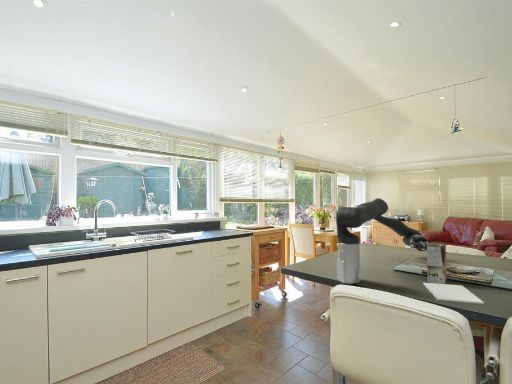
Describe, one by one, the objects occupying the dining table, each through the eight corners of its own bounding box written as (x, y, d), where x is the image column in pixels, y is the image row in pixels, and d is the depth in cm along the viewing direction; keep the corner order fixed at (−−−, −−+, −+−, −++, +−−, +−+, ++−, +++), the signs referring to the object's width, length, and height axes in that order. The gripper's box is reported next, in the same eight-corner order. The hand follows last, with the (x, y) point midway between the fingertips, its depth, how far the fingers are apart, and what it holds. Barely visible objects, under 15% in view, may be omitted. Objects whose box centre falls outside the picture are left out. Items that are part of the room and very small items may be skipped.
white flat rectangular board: (423, 283, 114) (423, 282, 114) (461, 286, 109) (461, 285, 110) (437, 300, 97) (437, 298, 97) (484, 304, 92) (484, 302, 92)
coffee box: (445, 285, 112) (444, 247, 112) (427, 282, 116) (426, 245, 116) (446, 279, 119) (446, 243, 119) (430, 276, 123) (429, 242, 123)
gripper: (405, 235, 145) (413, 240, 129) (433, 236, 141) (445, 241, 125) (405, 249, 145) (414, 256, 129) (433, 250, 141) (445, 257, 125)
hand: (429, 249), depth 127 cm, fingers closed
